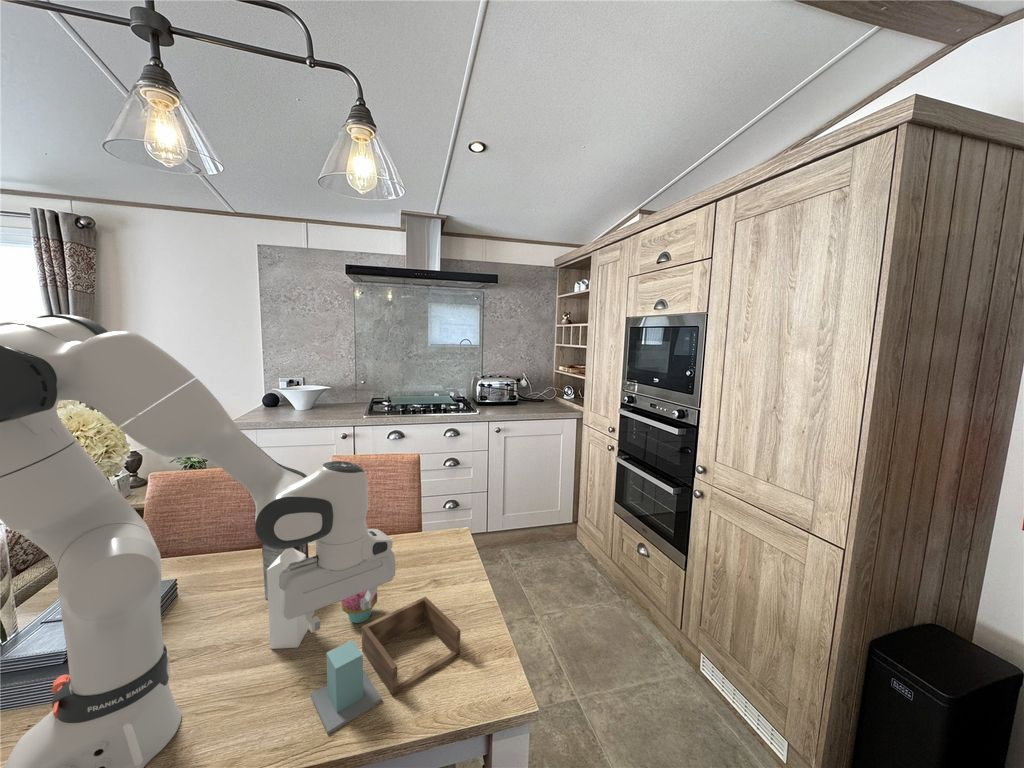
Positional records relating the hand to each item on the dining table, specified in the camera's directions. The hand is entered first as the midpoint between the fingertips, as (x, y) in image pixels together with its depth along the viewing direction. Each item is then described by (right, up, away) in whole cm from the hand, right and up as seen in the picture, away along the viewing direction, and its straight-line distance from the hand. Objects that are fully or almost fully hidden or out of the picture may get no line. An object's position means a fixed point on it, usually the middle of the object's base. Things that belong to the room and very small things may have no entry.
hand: (341, 618), depth 75 cm
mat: (0, -17, +2) cm, 17 cm away
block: (0, -16, +2) cm, 16 cm away
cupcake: (-6, -14, +25) cm, 29 cm away
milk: (-19, -15, +17) cm, 30 cm away
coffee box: (-29, -13, +34) cm, 46 cm away
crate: (+10, -16, +14) cm, 23 cm away
